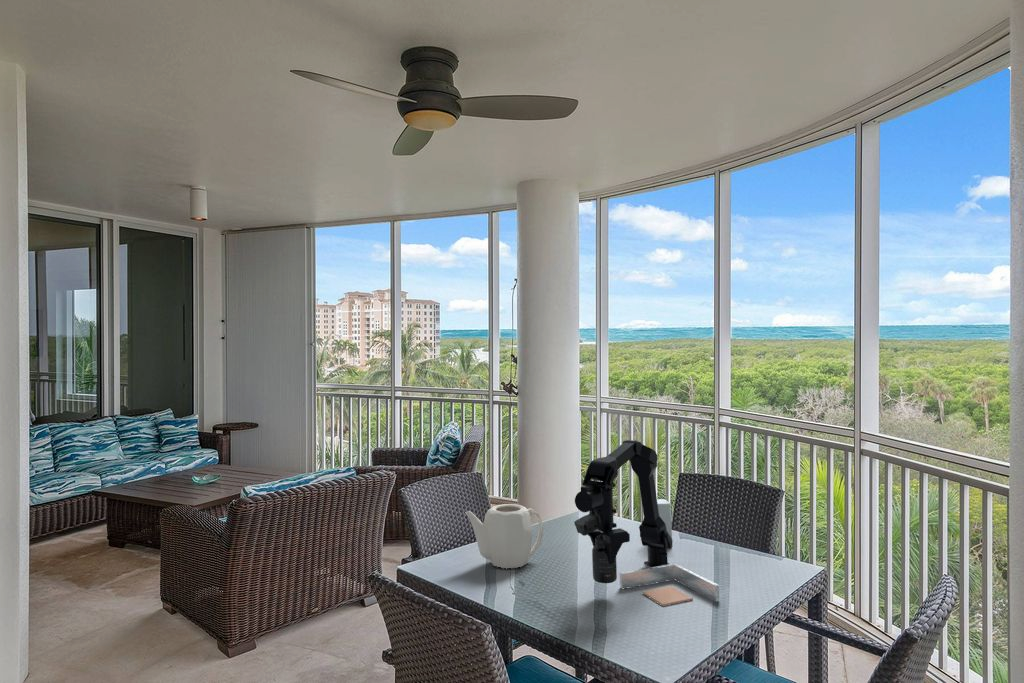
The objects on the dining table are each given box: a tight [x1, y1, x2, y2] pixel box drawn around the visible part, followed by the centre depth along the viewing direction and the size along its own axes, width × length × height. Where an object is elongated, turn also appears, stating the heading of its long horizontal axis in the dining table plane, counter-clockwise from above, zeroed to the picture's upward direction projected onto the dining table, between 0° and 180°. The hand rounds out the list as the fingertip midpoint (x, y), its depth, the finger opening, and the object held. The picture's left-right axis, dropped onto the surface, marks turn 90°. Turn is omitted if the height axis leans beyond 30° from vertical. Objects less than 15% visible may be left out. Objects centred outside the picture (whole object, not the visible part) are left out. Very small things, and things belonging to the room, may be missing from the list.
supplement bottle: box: [591, 535, 618, 584], centre depth 173 cm, size 7×7×12 cm
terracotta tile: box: [641, 585, 693, 607], centre depth 173 cm, size 10×10×1 cm
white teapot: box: [464, 503, 544, 570], centre depth 203 cm, size 16×27×19 cm, turn 105°
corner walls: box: [619, 563, 720, 603], centre depth 174 cm, size 20×20×4 cm
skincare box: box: [657, 498, 673, 539], centre depth 221 cm, size 8×7×16 cm
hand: (604, 559), depth 173 cm, fingers closed on supplement bottle, 7 cm apart
